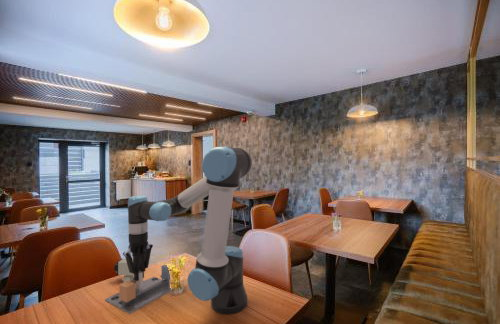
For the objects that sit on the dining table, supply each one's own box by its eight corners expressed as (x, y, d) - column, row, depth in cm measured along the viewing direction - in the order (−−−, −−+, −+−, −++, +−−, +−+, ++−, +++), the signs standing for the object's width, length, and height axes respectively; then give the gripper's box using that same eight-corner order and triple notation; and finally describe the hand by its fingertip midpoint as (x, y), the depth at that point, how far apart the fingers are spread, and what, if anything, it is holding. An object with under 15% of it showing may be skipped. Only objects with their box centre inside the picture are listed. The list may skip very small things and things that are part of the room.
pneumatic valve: (138, 284, 119) (137, 260, 119) (114, 284, 119) (113, 260, 119) (143, 279, 125) (142, 255, 125) (120, 279, 125) (120, 255, 125)
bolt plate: (177, 287, 116) (177, 285, 116) (129, 314, 96) (129, 312, 96) (153, 278, 126) (153, 276, 126) (105, 300, 106) (105, 298, 106)
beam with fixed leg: (172, 284, 118) (171, 266, 118) (126, 308, 99) (126, 287, 99) (163, 280, 121) (163, 264, 121) (118, 303, 102) (117, 283, 102)
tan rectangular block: (135, 302, 102) (135, 283, 102) (126, 307, 98) (126, 287, 98) (126, 298, 105) (126, 279, 105) (117, 302, 102) (117, 283, 102)
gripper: (146, 227, 113) (146, 278, 113) (118, 234, 102) (119, 291, 102) (156, 229, 109) (157, 282, 109) (129, 237, 98) (130, 296, 98)
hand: (139, 286), depth 106 cm, fingers closed
